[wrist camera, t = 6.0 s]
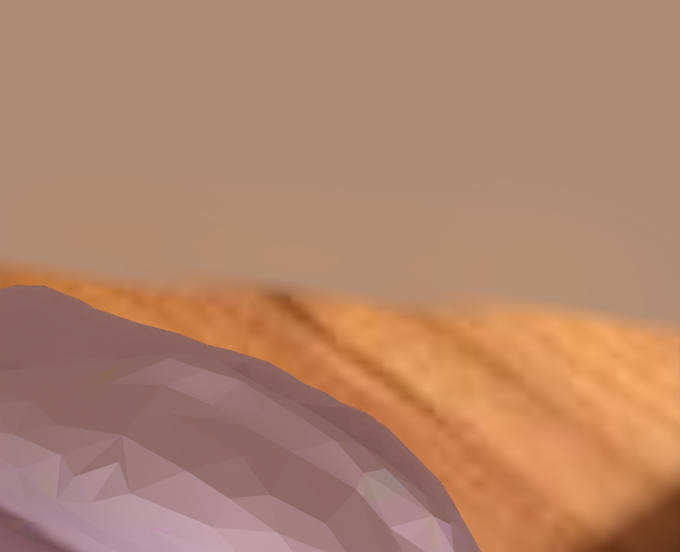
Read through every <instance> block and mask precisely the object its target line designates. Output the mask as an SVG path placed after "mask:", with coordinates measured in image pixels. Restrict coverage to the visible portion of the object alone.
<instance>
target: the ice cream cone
mask: <svg viewBox="0 0 680 552" xmlns="http://www.w3.org/2000/svg"><path fill="white" fill-rule="evenodd" d="M0 552H481V551H480V549H479V548H478V546H477V544H476V542H475V540H474V539H473V537H472V535H471V533H470V531H469V530H468V528H467V526H466V524H465V523H464V521H463V519H462V517H461V516H460V514H459V512H458V510H457V508H456V506H455V504H454V503H453V501H452V499H451V498H450V496H449V495H448V493H447V491H446V490H445V488H444V487H443V485H442V483H441V482H440V481H439V480H438V479H437V478H436V477H435V476H434V475H433V474H432V473H431V472H430V471H429V470H428V469H427V468H426V467H425V466H424V465H423V463H422V462H421V461H420V460H419V459H418V458H417V457H416V456H415V455H414V454H413V453H412V452H411V451H410V450H409V449H408V448H407V447H406V446H405V445H404V444H403V443H402V442H401V441H400V440H399V439H398V438H397V437H396V436H395V435H394V434H393V433H392V432H391V431H390V430H389V429H388V428H387V427H385V426H384V425H383V424H381V423H380V422H378V421H377V420H375V419H374V418H373V417H371V416H370V415H368V414H367V413H365V412H362V411H360V410H358V409H355V408H353V407H350V406H348V405H345V404H343V403H340V402H339V401H337V400H336V399H334V398H333V397H331V396H330V395H328V394H327V393H325V392H322V391H320V390H318V389H316V388H313V387H311V386H309V385H307V384H304V383H302V382H300V381H299V380H297V379H296V378H294V377H293V376H292V375H290V374H289V373H287V372H285V371H283V370H282V369H280V368H278V367H276V366H274V365H272V364H270V363H269V362H266V361H263V360H260V359H257V358H254V357H250V356H247V355H244V354H241V353H238V352H234V351H231V350H227V349H223V348H218V347H214V346H210V345H207V344H204V343H201V342H199V341H196V340H194V339H191V338H188V337H186V336H183V335H181V334H178V333H174V332H170V331H167V330H163V329H159V328H155V327H151V326H147V325H143V324H139V323H136V322H133V321H130V320H127V319H124V318H121V317H118V316H115V315H113V314H110V313H107V312H104V311H101V310H98V309H95V308H92V307H91V306H89V305H88V304H86V303H85V302H83V301H81V300H79V299H76V298H73V297H71V296H68V295H66V294H63V293H61V292H58V291H56V290H53V289H51V288H48V287H46V286H18V285H15V286H11V287H8V288H4V289H0Z"/></svg>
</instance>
